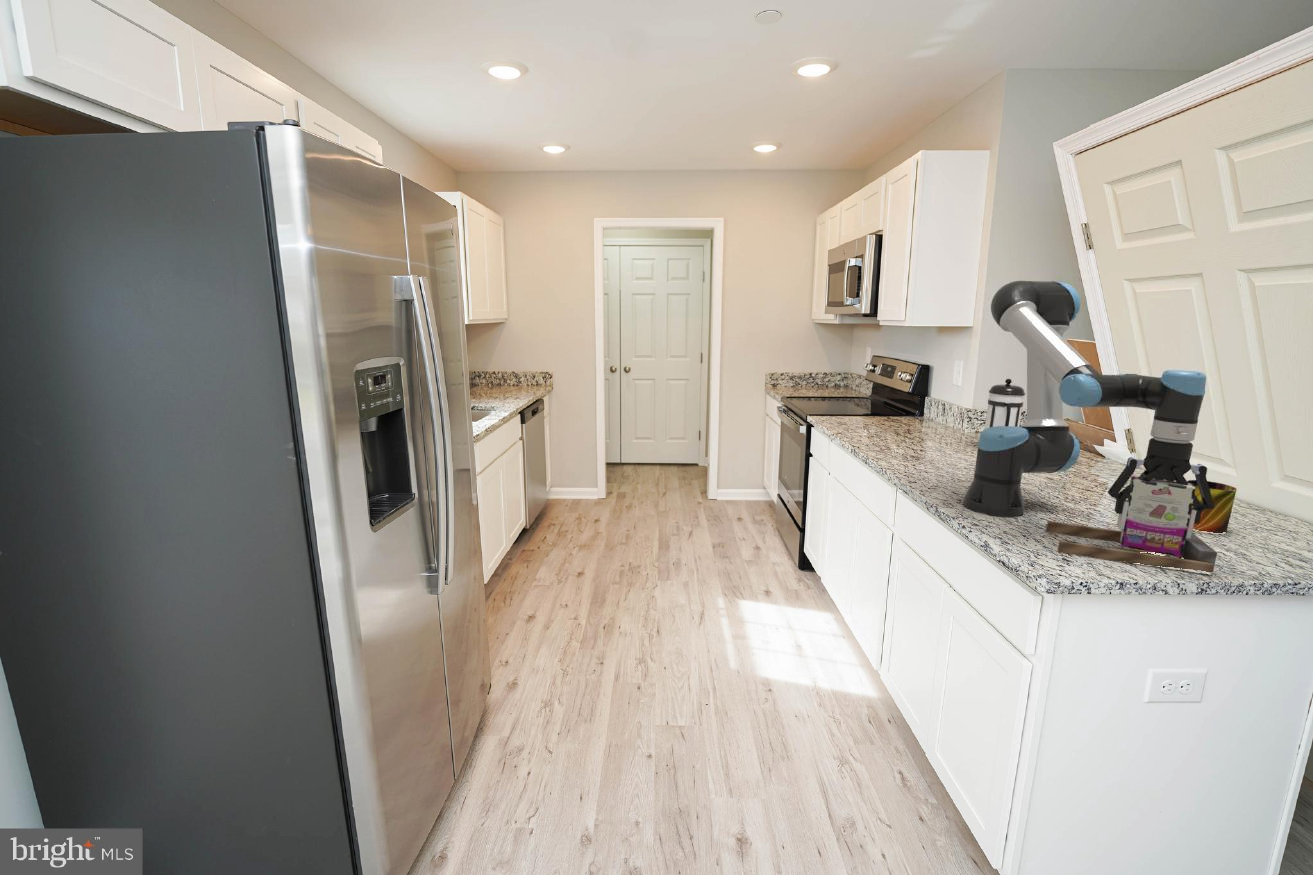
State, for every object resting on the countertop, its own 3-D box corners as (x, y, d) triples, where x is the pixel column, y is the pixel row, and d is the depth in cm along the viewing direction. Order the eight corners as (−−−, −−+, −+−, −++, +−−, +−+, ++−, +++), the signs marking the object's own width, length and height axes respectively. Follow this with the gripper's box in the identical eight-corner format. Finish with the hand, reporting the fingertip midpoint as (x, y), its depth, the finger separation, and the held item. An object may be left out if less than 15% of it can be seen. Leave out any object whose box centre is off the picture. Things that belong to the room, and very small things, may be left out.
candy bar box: (1178, 551, 137) (1193, 483, 134) (1182, 558, 133) (1197, 488, 130) (1118, 540, 144) (1131, 474, 140) (1119, 546, 140) (1132, 479, 136)
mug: (1153, 517, 166) (1162, 476, 164) (1218, 526, 160) (1228, 483, 158) (1164, 527, 158) (1173, 484, 155) (1232, 537, 152) (1243, 492, 149)
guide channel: (1058, 552, 139) (1062, 532, 138) (1046, 530, 154) (1049, 511, 153) (1214, 576, 128) (1219, 554, 127) (1185, 549, 143) (1189, 530, 141)
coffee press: (967, 448, 250) (977, 376, 244) (997, 446, 255) (1007, 376, 249) (1002, 457, 234) (1013, 381, 228) (1033, 455, 239) (1045, 381, 233)
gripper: (1111, 437, 135) (1094, 527, 139) (1249, 449, 125) (1226, 546, 129) (1102, 431, 141) (1086, 518, 146) (1233, 442, 132) (1212, 535, 136)
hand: (1152, 531), depth 138 cm, fingers closed on candy bar box, 11 cm apart
